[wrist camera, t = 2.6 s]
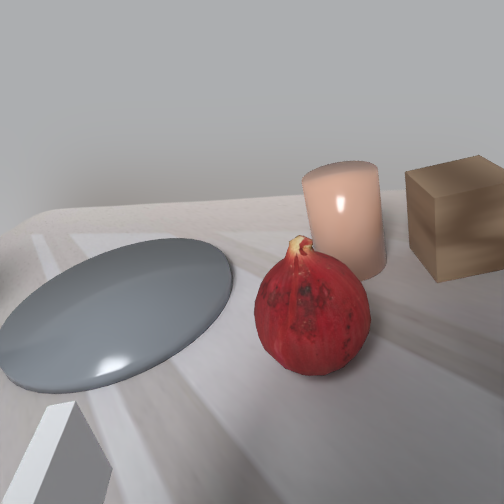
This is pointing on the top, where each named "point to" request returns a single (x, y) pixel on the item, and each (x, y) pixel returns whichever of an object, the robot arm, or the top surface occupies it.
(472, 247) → the walnut block
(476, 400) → the top surface
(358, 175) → the cylinder
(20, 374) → the slate plate
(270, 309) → the red pomegranate
